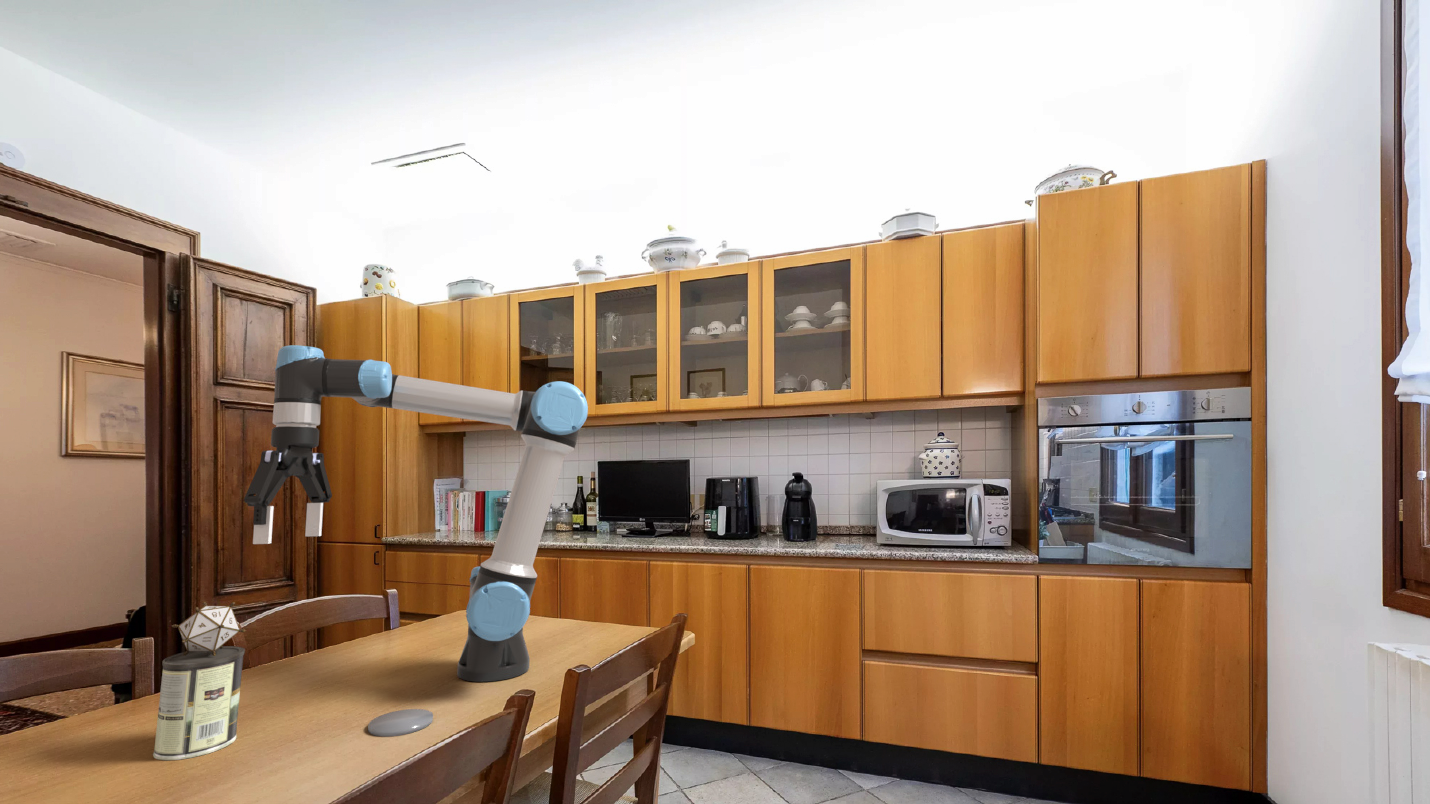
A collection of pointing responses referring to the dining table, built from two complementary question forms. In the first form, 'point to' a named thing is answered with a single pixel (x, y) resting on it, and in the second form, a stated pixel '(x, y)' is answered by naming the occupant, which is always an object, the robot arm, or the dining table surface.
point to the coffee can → (198, 703)
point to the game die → (208, 628)
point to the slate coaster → (400, 722)
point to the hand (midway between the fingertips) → (289, 539)
